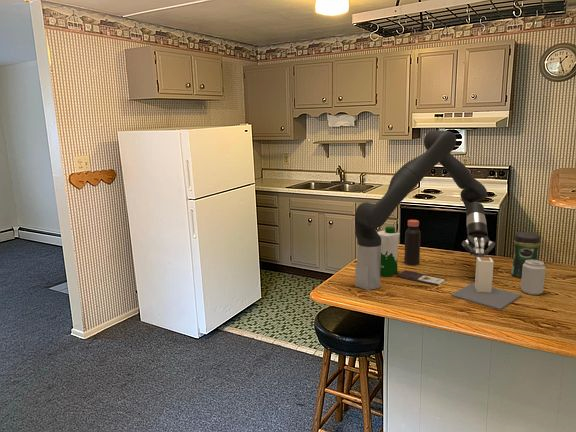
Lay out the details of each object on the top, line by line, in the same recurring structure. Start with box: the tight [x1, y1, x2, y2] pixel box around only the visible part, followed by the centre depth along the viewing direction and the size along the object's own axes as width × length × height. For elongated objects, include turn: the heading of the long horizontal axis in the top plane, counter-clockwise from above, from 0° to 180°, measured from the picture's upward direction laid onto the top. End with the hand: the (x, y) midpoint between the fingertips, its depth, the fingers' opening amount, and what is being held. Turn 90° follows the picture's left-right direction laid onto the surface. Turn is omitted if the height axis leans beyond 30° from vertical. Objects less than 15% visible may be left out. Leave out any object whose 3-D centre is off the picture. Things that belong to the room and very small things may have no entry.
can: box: [520, 259, 546, 296], centre depth 164 cm, size 8×8×12 cm
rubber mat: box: [450, 282, 522, 311], centre depth 162 cm, size 18×18×1 cm
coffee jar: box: [511, 231, 541, 279], centre depth 181 cm, size 10×8×19 cm
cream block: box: [474, 256, 495, 292], centre depth 165 cm, size 5×5×12 cm
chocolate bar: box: [395, 270, 447, 287], centre depth 182 cm, size 9×1×18 cm
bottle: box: [403, 219, 422, 266], centre depth 200 cm, size 7×7×20 cm
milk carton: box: [377, 226, 401, 278], centre depth 187 cm, size 9×9×20 cm
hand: (480, 263), depth 172 cm, fingers closed
